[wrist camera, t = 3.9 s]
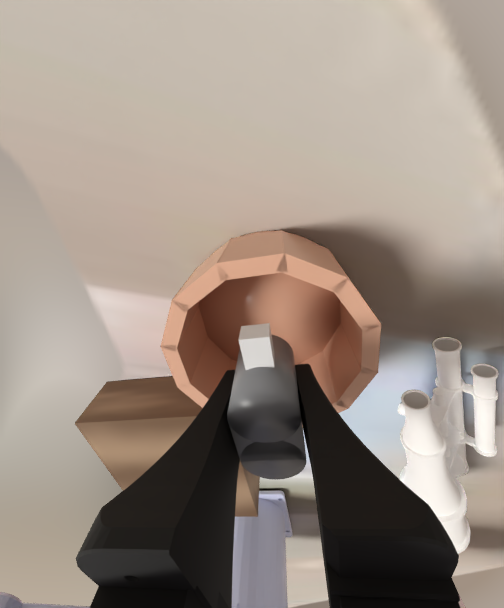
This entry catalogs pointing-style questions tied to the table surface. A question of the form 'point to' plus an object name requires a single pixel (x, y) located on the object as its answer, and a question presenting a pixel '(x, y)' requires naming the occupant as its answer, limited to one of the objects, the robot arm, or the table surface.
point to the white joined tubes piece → (447, 437)
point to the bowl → (272, 315)
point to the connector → (266, 406)
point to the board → (148, 431)
